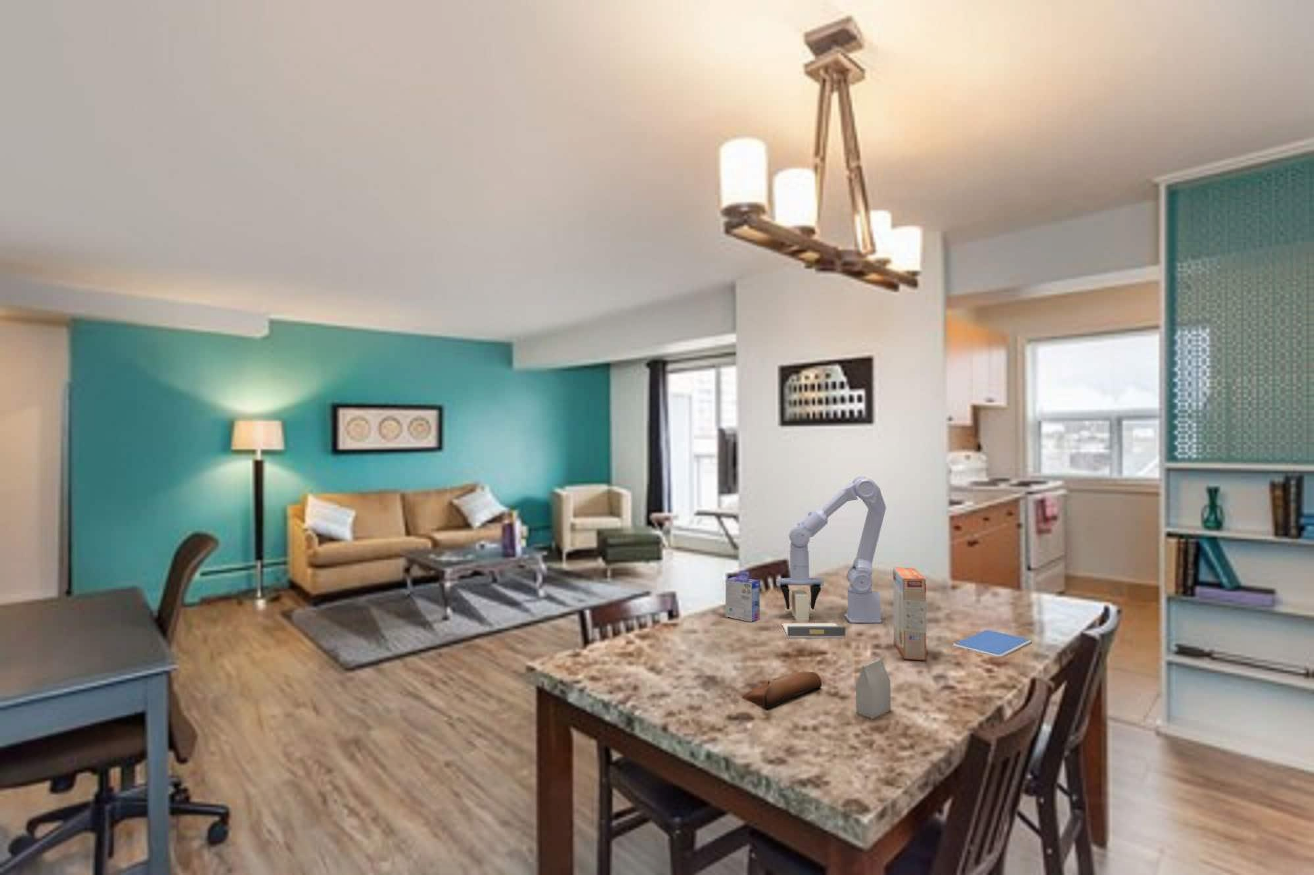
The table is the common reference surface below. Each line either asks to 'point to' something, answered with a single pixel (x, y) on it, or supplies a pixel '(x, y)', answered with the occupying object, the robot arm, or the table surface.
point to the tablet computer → (992, 643)
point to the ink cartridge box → (743, 598)
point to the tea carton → (800, 605)
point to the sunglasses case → (783, 688)
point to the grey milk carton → (873, 690)
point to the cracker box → (909, 613)
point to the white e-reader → (814, 630)
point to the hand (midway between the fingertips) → (800, 608)
